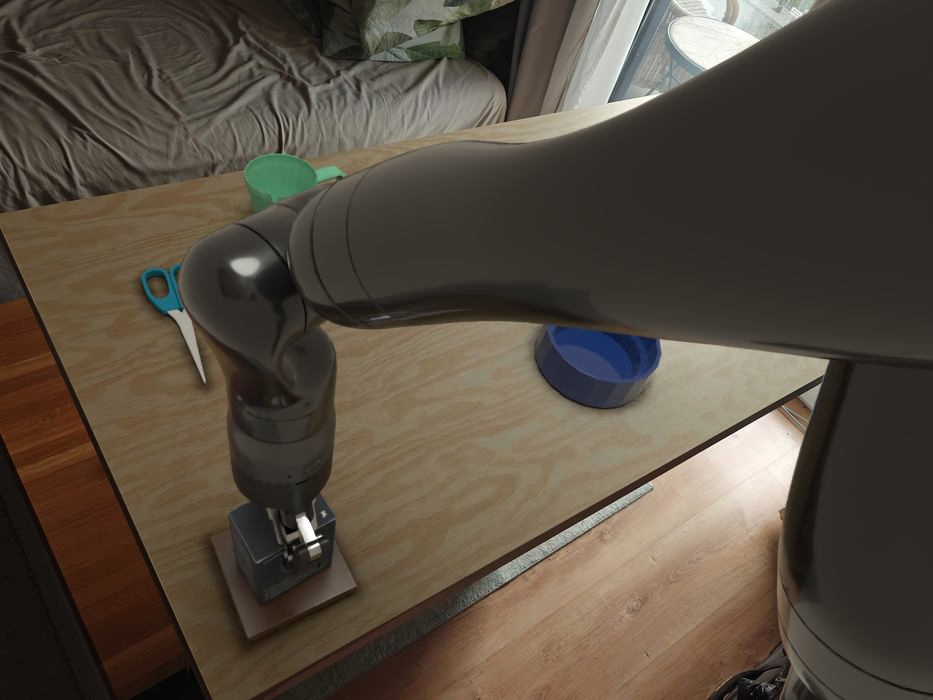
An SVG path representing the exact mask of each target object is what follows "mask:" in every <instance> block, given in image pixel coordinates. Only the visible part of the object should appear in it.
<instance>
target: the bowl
mask: <svg viewBox="0 0 933 700" xmlns="http://www.w3.org/2000/svg"><path fill="white" fill-rule="evenodd" d="M534 347H535V348H534V350H535V351H534V356H535V360H536V363H537V366H538V368H539V370H540V372H541V374H542V375H543V376H544V377H545V379H546V380H547V382H548V383H549V384H550V385H551V387H553V388H555V389H556V390H557V391H558V392H560V393H561V394H562V395H564V397H567V398H569V399H571V400H573V401H575V402H577V403H579V404H581V405H584V406H590V407H594V408H600V409H607V408H608V409H609V408H619V407H622V406H625V405H626V404H628V403H630V402H632V401H634V400H635V399H636V397H637V396H638V395H640V394H641V392H642V391H643V390H644V388H645V387H646V385H647V384H648V382H649V381H650V380H651V378H652V377H653V374H654V373H655V372H656V371H657V369H658V368H659V365H660V362H661V358H662V347H661V339H654V338H646V337H639V336H631V335H623V334H615V333H608V332H601V331H593V330H586V329H578V328H570V327H562V326H554V325H544V324H542V326H541V329H540V330H539V334H538V335H537V338H536V340H535V346H534Z"/></svg>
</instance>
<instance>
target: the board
mask: <svg viewBox="0 0 933 700" xmlns="http://www.w3.org/2000/svg"><path fill="white" fill-rule="evenodd" d="M210 543H211V546H212V548H213V551H214V554H215V557H216V560H217V562H218V565H219V567H220V571H221V573H222V576H223V578H224V582H225V584H226V587H227V589H228V592H229V595H230V598H231V601H232V603H233V606H234V608H235V611H236V614H237V617H238V619H239V623H240V625H241V627H242V630H243V633H244V636H245V639H246V641H247V644H251V643H253V642H255V641H257V640H259V639H261V638H263V637H265V636H267V635H269V634H271V633H274V632H275V631H277V630H280V629H282V628H283V627H286V626H287V625H290V624H292V623H294V622H296V621H298V620H300V619H303V618H305V617H307V616H308V615H311V614H312V613H314V612H317V611H318V610H321V609H323V608H325V607H327V606H328V605H330V604H333V603H336V602H337V601H340V600H342V599H343V598H345V597H348V596H349V595H352V594H354V593H355V592H357V590H358V584H357V582H356V580H355V578H354V575H353V574H352V572H351V569H350V567H349V566H348V563H347V561H346V559H345V557H344V555H343V553H342V551H341V548H340V547H339V544H338V542H337V540H336V538H335V537H334V546H333V557H332V564H331V565H329V566H327V567H326V568H324V569H322V570H321V571H319V572H317V573H316V574H314V575H312V576H311V577H309V578H307V579H306V580H304V581H302V582H301V583H299V584H297V585H296V586H294V587H292V588H291V589H289V590H287V591H286V592H284V593H282V594H280V595H279V596H277V597H275V598H274V599H272V600H271V601H269V602H267V603H265V604H263V605H260V604H259V603H258V601H257V599H256V597H255V595H254V593H253V591H252V589H251V588H250V586H249V584H248V582H247V580H246V578H245V576H244V574H243V573H242V571H241V569H240V567H239V565H238V563H237V561H236V559H235V553H234V547H233V541H232V535H231V528H228V529H226V530H223V531H221V532H218V533H216V534H213V535H211V536H210Z"/></svg>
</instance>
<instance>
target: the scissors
mask: <svg viewBox="0 0 933 700" xmlns="http://www.w3.org/2000/svg"><path fill="white" fill-rule="evenodd" d="M180 266H181V263H177V264H175V265H173V266H172V267H170V270H169V273H168V271H167V270H166V269H164V268H159V267H151V268H149V269H146V270H145V271H144V272H142V274H141V282H142V286H143V290H144V293H145V296H146V297H147V299H148V300H149V302H150V303H151V305H153V306H154V307H155V309H156V310H158V311H159V312H160V313H161V314H163V315H164V316H167V315H169V316H170V317H171V318H173V320H174V321H175V322H176V323H177V325H178V326H179V329H180V331H181V334H182V337H183V339H184V341H185V343H186V345H187V347H188V349H189V352H190V354H191V356H192V358H193V360H194V363H195V366H196V367H197V370H198V372H199V375H200V377H201V379H202V381H203V384H204V385H206V384H207V381H206V377H205V372H204V369H203V364H202V360H201V357H200V352H199V347H198V344H197V339H196V338H197V337H196V334H195V329H194V324H193V322H192V321H191V319H190V318H189V316H188V314H187V313H186V311H185V309H184V307H183V305H182V303H181V300H180V297H179V294H178V288H177V281H176V278H175V275H176V274H178V273H179V269H180ZM155 276H156V277H157V276H159V277H163V278H164V279H165V281H166V283H167V286H168V294H167V295H166V296H164V297H163V298H158V297H155V296H154V295H153V294H152V292H151V291H150V288H149V287H148V284H147V281H148V279H150V278H152V277H155Z"/></svg>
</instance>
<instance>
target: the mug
mask: <svg viewBox="0 0 933 700" xmlns="http://www.w3.org/2000/svg"><path fill="white" fill-rule="evenodd" d="M345 176H347V174H346V173H345V172H343V171H342V170H341V169H340V168H339V167H338V166H337V165H329V166H323V167H321V168H319V169H315V168H314V167H313V165H311V164H310V163H309V161H306V160H304V159H303V158H300V157H297V156H295V155H292V154H286V153H268V154H267V153H266V154H263V155H260V156H256V157H255V158H254V159H252V160H250V161H249V162H248V163H247V165H245V167H244V173H243V179H244V184H245V186H246V189H247V191H248V194H249V197H250V201H251V205H252V209H253V210H254V212H257V211H259V210H261V209H263V208H265V207H267V206H269V205H271V204H274V203H276V202H278V201H280V200H282V199H284V198H287V197H289V196H291V195H294V194H296V193H299V192H301V191H304V190H307V189H309V188H312V187H315V186H318V185H320V184H322V183H324V182H327V181H329V180H334V179H335V181H337V180H339V179H341V178H343V177H345Z"/></svg>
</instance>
